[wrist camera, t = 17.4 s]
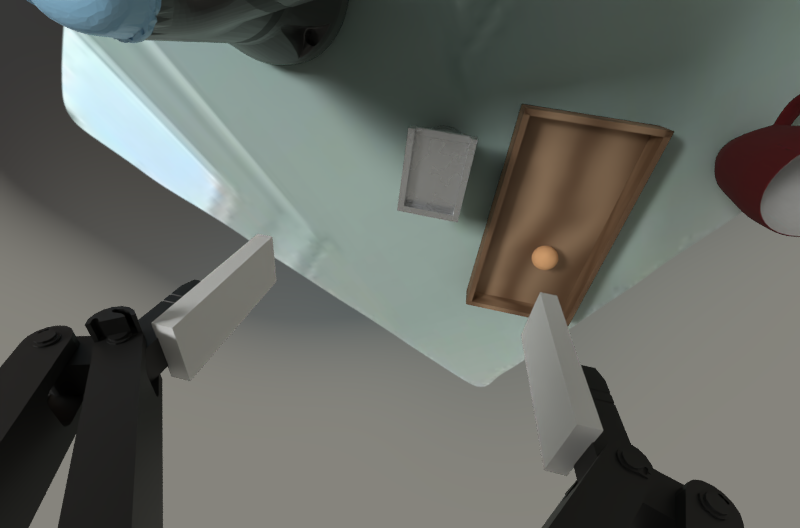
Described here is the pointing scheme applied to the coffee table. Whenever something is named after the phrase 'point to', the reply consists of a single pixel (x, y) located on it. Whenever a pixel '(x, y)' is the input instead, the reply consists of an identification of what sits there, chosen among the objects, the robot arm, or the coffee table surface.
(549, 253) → the ball
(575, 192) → the tray
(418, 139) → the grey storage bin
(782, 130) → the mug
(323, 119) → the coffee table surface
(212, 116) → the coffee table surface
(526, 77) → the coffee table surface
